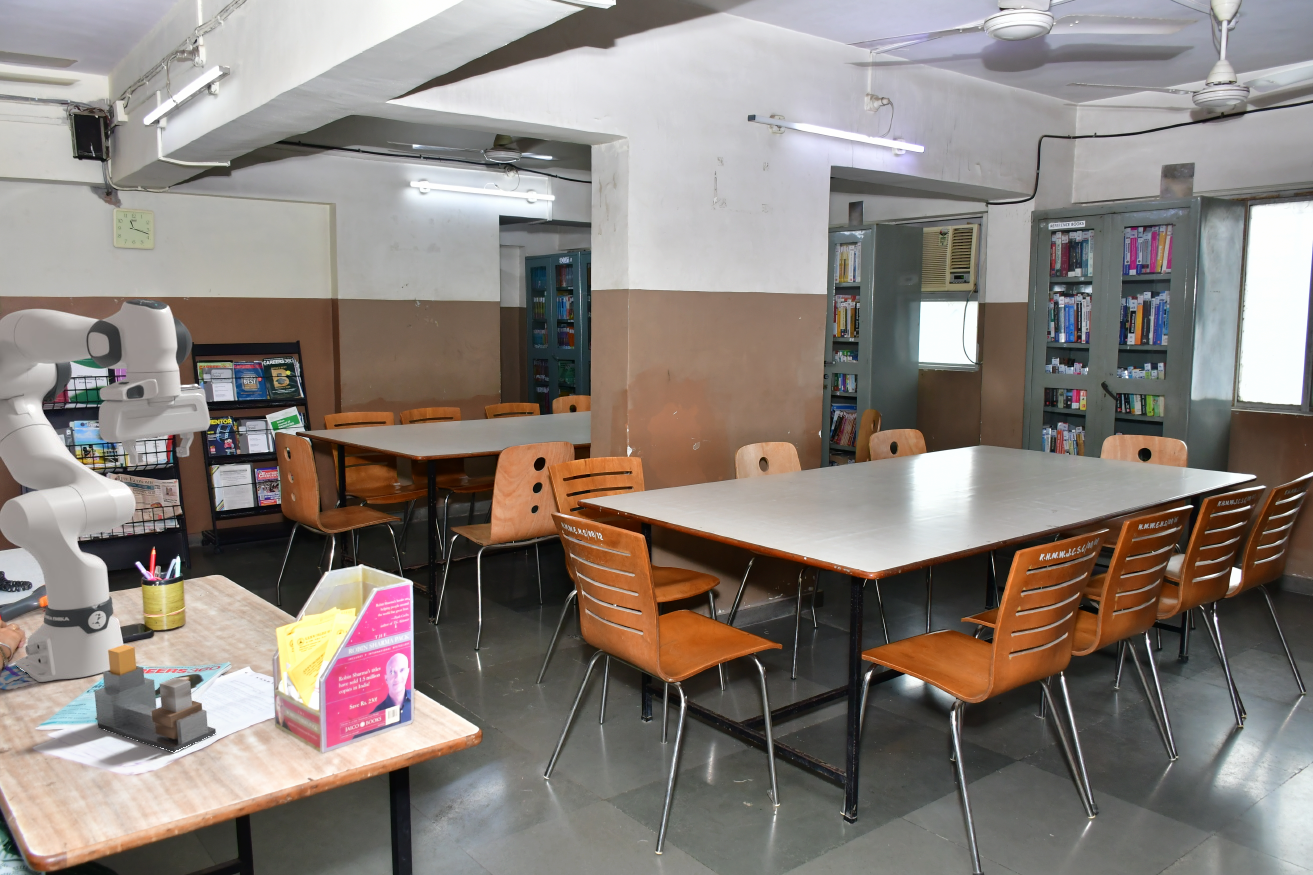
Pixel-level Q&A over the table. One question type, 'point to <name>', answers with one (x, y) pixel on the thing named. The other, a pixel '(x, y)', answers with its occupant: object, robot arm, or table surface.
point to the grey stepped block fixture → (142, 712)
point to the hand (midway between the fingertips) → (160, 460)
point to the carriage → (173, 706)
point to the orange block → (122, 659)
